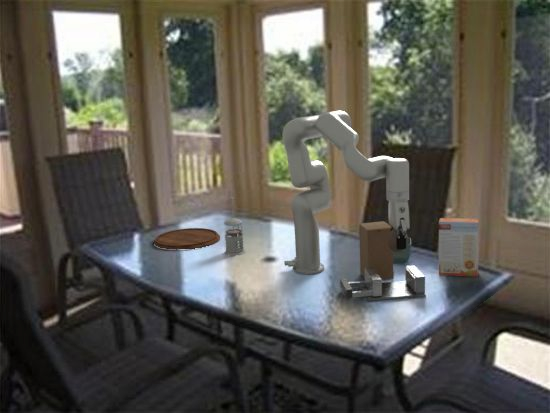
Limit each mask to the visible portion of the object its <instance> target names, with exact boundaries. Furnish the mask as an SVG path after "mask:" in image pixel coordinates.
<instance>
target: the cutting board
mask: <svg viewBox="0 0 550 413" xmlns="http://www.w3.org/2000/svg"><path fill="white" fill-rule="evenodd" d="M220 240H221V236H220V234H219V233H218V232H217V231H216V230H214V229H211V228H204V227H203V228H202V227H189V228H179V229H175V230H169V231H166V232H163V233H161V234H158V235H157V236H156V237H155V238H154V240H153V241H154V244H155V245H156V246H158V247H160V248H166V249H176V250H177V249H194V250H196V249H195V248H200V249H203V248H202V247H204V248H207V247H206V246H208V247H210V245H211V246H213V245H215V244H216V243H218V242H220Z"/></svg>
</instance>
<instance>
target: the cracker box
mask: <svg viewBox="0 0 550 413" xmlns="http://www.w3.org/2000/svg"><path fill="white" fill-rule="evenodd" d="M479 222H480V221H479V218H452V217H451V218H449V217H448V218H447V217H444V218H443V217H440V218H439V221H438V275H439V276H456V277H475V278H476V277H479V276H478V275H479V224H480V223H479Z"/></svg>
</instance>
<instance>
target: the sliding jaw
mask: <svg viewBox="0 0 550 413" xmlns="http://www.w3.org/2000/svg"><path fill="white" fill-rule="evenodd" d="M339 280H340V283H339V284H340V285H339V286H340V288H341V291H342V292H343V295H344V297H345V298H346V299H353V298H359V297H365V296H373V297H374V296H382V283H383V282H382V281H383V280H382V279H381V278H380V276H379V275H378V274H377V272H376V271H375V270H374V268H365V278H364V280H361V281H359V280H358V281H348V279H347V278H340V279H339ZM364 286H367V288H368V290H365V291H361V290H354V291H353V288H359V287H364Z"/></svg>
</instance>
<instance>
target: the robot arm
mask: <svg viewBox="0 0 550 413" xmlns="http://www.w3.org/2000/svg"><path fill="white" fill-rule="evenodd" d="M351 127H352V119H351V117H350V115H349V113H347V112H345V111H344V110H343V111H342V110H335V111H327V112H324V113H321V114H316V115H310V116H301V117H296V118H294V119H292V120H290V121H288V122H287V123H286V124H285V125H284V127H283V130H282V142H283V145H284V148H285V153H286V158H287V164H288V171H289V177H290V182H291V184H292V186H293V187H295V188H297V189H304V188H308V187H309V189H306V190H303V191H300V192H297V193H296V194H295V195H293V197H291V200H290V208H291V209H290V210H291V213H292V217H293V225H294V226H293V227H294V241H295V242H294V245H295V257H294V259H292V260H284V266H285V267H286V266H288V267H289V268H291V267H292V271H293V272H294V273H296V274H300V275H313V274H319V273H322V272H323V271H324V270H325V265H324V264H323V263H321V252H320V251H321V249H320V247H321V246H320V227H319V221H318V220H317V218H316V215H315V214H317V213H320V212H323V211H326V210H327V209H329V207H330V206H331V203H332V194H331V186H330V181H329V174H328V171H327V168H326V166H325V165H324V163H323V162H322V161H320V160H318V159H312V160H311V159H310V152H309V149H308V147H307V144H305V142H304V141H307V140H311V139H317V138H321V137H323V138H325V139H326V141H328V142H329V143H330V144H332V145H333V146H334V147H335V148H336V149H337V150H338V151H340V153H341V155H342V157H341V158H342V159H343V162H344V165H346V167H347V168H348V169H349V171H350V172H352V173H353V174H354V175H355V176H356V177H357V178H359V179H361V180H362V181H365V182H374V181H377V180H380V179H381V180H382V179H386V180H385V181H386V182H385V183H386V184H385V187H386V188H385V189H386V191H385V192H386V194H385V195H386V201H388V215H387V217H388V225H390V226H391V227H390V231H392V230H393V228H394V229H395V230H397V238H396V248H397V249H398V250H399V249H406V233H407V231H408V230H409V229H410V225H411V224H410V223H411V222H410V209H409V200H410V162H409V160H408V159H406V158H401V157H395V158H393V157H391V156H387V155H379V156H375V157H370V158H367V157H366V156H364V154H362V153H361V152H360V151H359V150H358V148H357V146H358V144H359V140H360V136H359V134H358V132H356V131H355V130H354V129H353V128H351ZM400 227H401V229H398V228H400ZM399 231H402V232H400V234H399ZM288 267H287V268H288Z"/></svg>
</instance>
